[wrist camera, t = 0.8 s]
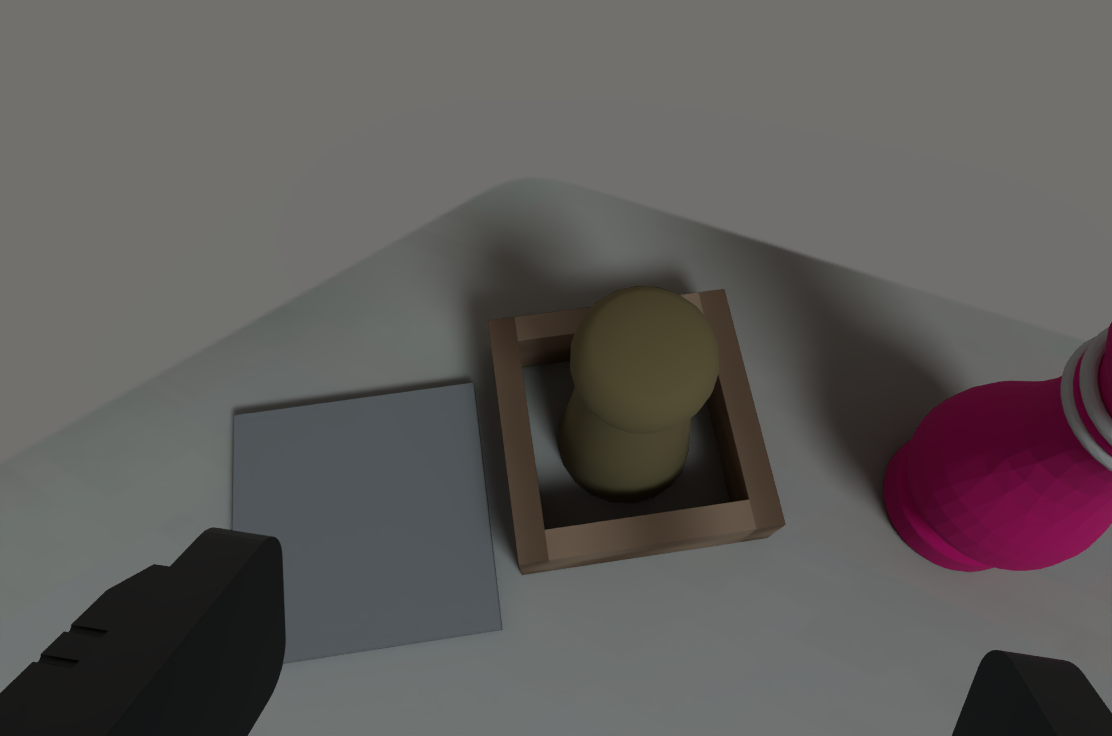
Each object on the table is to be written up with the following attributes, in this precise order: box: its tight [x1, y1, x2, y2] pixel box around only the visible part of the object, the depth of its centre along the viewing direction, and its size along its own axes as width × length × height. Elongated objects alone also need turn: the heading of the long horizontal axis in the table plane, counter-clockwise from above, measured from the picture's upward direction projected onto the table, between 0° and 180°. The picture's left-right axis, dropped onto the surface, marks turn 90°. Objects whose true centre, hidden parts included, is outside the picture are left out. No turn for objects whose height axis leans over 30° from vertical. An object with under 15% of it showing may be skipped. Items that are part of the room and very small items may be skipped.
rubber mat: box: [233, 383, 502, 664], centre depth 34 cm, size 11×11×1 cm
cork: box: [558, 286, 719, 503], centre depth 31 cm, size 6×6×11 cm
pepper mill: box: [883, 323, 1112, 572], centre depth 25 cm, size 7×7×20 cm
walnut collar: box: [488, 289, 786, 575], centre depth 34 cm, size 11×11×3 cm
